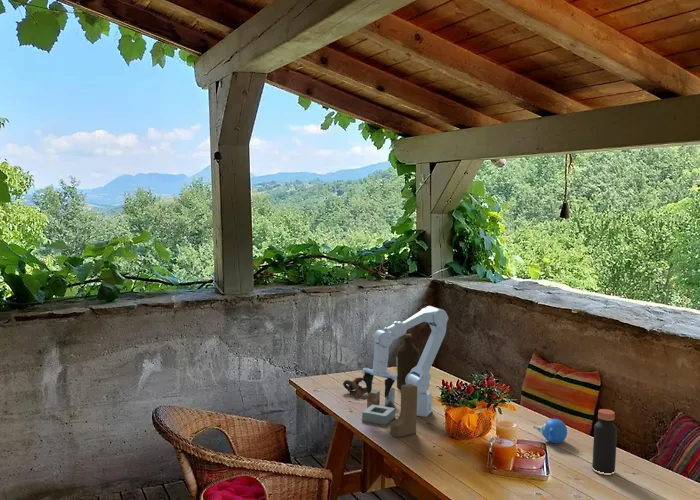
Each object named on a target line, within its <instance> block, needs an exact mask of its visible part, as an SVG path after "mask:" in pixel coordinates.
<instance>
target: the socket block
mask: <svg viewBox="0 0 700 500" xmlns="http://www.w3.org/2000/svg"><path fill="white" fill-rule="evenodd" d="M361 415H362V416H361V421H362V422H367V423H372V424H379V425H382V426H383V425H384V426H387V425H388V424H389V423H391V422H392V420H394V418H395V417H396V408H394V407H387V406H385V405H384V406H383V405H380V406H378V405H373V404H372V405H371V406H370V407H368V408H367V407H366V409H364V410H363V411H362V412H361Z"/></svg>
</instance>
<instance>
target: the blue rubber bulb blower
mask: <svg viewBox="0 0 700 500" xmlns="http://www.w3.org/2000/svg"><path fill="white" fill-rule="evenodd" d="M532 427H533V429H535V430H537V431H538V432H539V433H541V436H543V437H544V438H545V440H547V442H549V443H552V444H561V443H562V442H564V441H565V440H566V438H567V435H568V428H567V426H566V424H565V423H564V422H563V421H562V420H560V419H558V418H549V419H547V420H546V421H545V422H544V424H543V425H533V426H532Z"/></svg>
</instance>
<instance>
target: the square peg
mask: <svg viewBox="0 0 700 500" xmlns="http://www.w3.org/2000/svg"><path fill="white" fill-rule="evenodd" d="M380 394H381V390H379V389H378V390H377V389H372V390H371V392H370V393H366V409H367V408H368V407H370V406H371V405H372V404H373V405H378V406H381V404H380V401H381V399H380V396H381V395H380Z"/></svg>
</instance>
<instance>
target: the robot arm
mask: <svg viewBox="0 0 700 500" xmlns="http://www.w3.org/2000/svg"><path fill="white" fill-rule="evenodd" d="M448 321H449V316H448V314H447V311H445V310H444V309H442V308H438V307H435V306H432V305H428V306H426V307H423V308H421V309H420V311H418V312H416V313H414V314H413V315H411V316H410V317H409V318H407V319H406V320H403V321H400V320H399V321H396V320H395V321H393V323H392V324H391V325H389V326H387V327H386V326H385V327H383V329H377V330H376V331H374V333H373V336H372V341H373V343H374V351H373V358H372V359H373V362H372V368H368V367H363V368H362V370H361V374H363V376H362V378H364V380H365V382H364V384H365V387H367V393H370V392H371V390H373V389H372V388H373V380H374V376H375V377H379V378H383V379H384V398H385V397H388V395H389V392H390V389H391V388H393V385H394V383H395V381H397V373H396V374H395V373H393V372H389V371H388V362H389V352H390V346H391V345H392V343H393V342H394V341H395V340H398V338H400V337H402V336H405V334H407V330H409V329H411V328H413V327H416V326H417V325H419V324H421V323H427V324H428V325H429V328H430V329H431V331H430V334H429V336H428V339H427V341H426V344H425V346H424V348H423V350H422V353H421V356H419V362H418V364H417V366H416V367H414V368H412V370H411V372H410V373H409V374H408V375H407V376H406V379H405V382H406V384H412V385H415V386H417V416H418V417H423V418H427V417H428V416H429V415H430V414H431V413H432V412H433V409H432V407H433V403H432V401H433V396H432V393H431V392H428V390H429V388H430V381H431V380H432V379H431V378H432V376H431V374H430V371H431V368H432V365H433V364H434V361H435V358H436V356H437V354H438V353H439V350H440V347H441V346H442V343H443V341H444V338H445V336H446V333H447V323H448ZM367 393H366V394H367Z"/></svg>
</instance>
